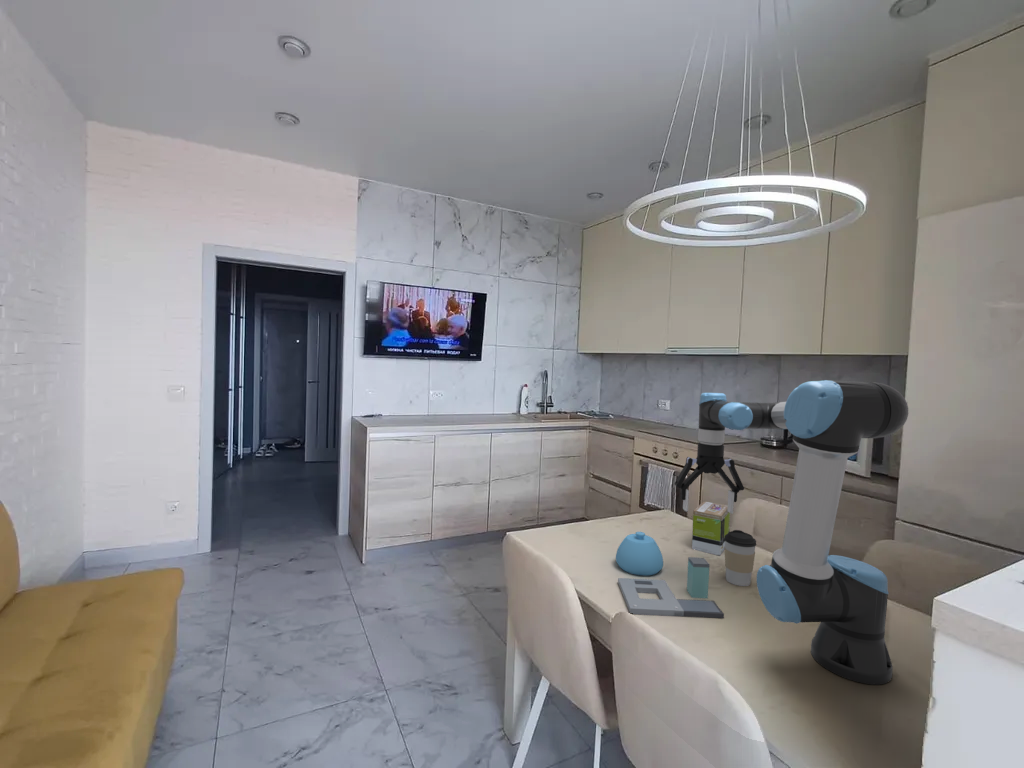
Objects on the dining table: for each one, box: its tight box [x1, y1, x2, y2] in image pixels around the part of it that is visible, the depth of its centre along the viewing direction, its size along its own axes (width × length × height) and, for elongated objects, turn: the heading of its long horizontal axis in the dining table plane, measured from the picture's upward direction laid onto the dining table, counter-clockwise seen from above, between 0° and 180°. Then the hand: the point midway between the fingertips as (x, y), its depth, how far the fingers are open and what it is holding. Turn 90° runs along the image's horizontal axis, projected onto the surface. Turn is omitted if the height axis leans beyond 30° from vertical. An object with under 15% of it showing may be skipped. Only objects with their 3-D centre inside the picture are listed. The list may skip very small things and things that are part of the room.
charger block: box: [686, 556, 710, 599], centre depth 140 cm, size 4×4×10 cm
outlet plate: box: [617, 577, 684, 617], centre depth 136 cm, size 18×14×2 cm
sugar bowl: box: [615, 531, 664, 577], centre depth 157 cm, size 15×15×12 cm
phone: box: [674, 598, 725, 619], centre depth 131 cm, size 7×13×1 cm, turn 88°
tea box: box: [691, 500, 731, 556], centre depth 177 cm, size 15×10×15 cm, turn 144°
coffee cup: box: [724, 529, 757, 587], centre depth 149 cm, size 9×9×15 cm
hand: (707, 511), depth 148 cm, fingers open, 13 cm apart
